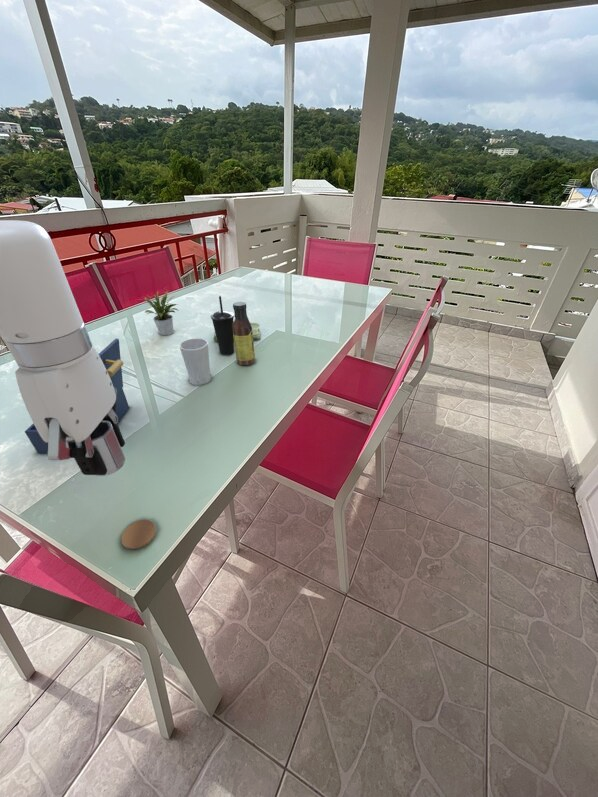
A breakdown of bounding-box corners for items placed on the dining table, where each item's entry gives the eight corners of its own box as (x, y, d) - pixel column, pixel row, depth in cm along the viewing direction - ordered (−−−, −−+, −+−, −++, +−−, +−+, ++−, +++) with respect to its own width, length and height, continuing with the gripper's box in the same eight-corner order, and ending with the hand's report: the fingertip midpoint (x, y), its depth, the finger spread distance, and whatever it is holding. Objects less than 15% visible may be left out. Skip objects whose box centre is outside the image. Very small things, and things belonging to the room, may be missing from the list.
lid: (72, 377, 63) (96, 381, 64) (115, 338, 78) (134, 342, 78) (83, 430, 71) (103, 433, 71) (120, 385, 85) (137, 389, 86)
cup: (218, 376, 103) (213, 341, 96) (202, 388, 97) (195, 352, 91) (198, 370, 106) (191, 336, 99) (181, 382, 100) (173, 346, 93)
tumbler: (94, 481, 46) (76, 447, 42) (88, 461, 49) (71, 428, 45) (128, 466, 48) (114, 433, 44) (121, 449, 51) (107, 416, 47)
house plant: (151, 344, 122) (139, 300, 112) (139, 332, 130) (127, 291, 121) (188, 334, 129) (180, 293, 120) (174, 324, 138) (166, 284, 128)
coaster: (126, 556, 55) (125, 554, 55) (118, 531, 59) (117, 530, 59) (160, 538, 58) (159, 536, 58) (150, 515, 62) (150, 514, 61)
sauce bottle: (258, 363, 110) (254, 305, 99) (240, 368, 108) (234, 308, 96) (250, 355, 115) (245, 299, 104) (233, 359, 112) (226, 302, 101)
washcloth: (261, 341, 125) (260, 333, 123) (213, 343, 123) (212, 335, 121) (259, 327, 136) (259, 320, 134) (215, 329, 133) (214, 322, 132)
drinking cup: (212, 356, 114) (203, 299, 103) (220, 346, 121) (213, 291, 109) (233, 358, 113) (227, 300, 102) (240, 348, 120) (235, 293, 108)
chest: (37, 453, 75) (24, 431, 71) (81, 407, 89) (71, 386, 86) (95, 454, 75) (85, 432, 71) (129, 407, 89) (122, 387, 86)
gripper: (63, 316, 44) (108, 422, 55) (-45, 384, 30) (42, 508, 41) (119, 317, 44) (152, 422, 55) (35, 385, 30) (102, 508, 41)
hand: (105, 458), depth 48 cm, fingers closed on tumbler, 4 cm apart
